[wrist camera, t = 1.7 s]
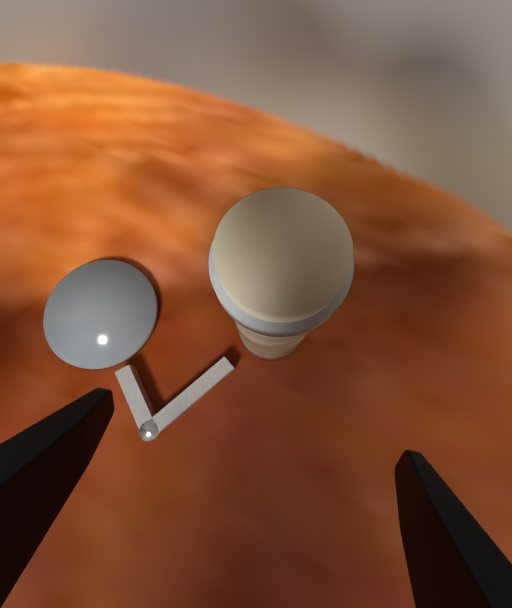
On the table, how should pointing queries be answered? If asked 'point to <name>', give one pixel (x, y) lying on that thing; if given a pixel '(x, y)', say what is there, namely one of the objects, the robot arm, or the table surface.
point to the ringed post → (280, 267)
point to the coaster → (100, 314)
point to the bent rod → (157, 423)
